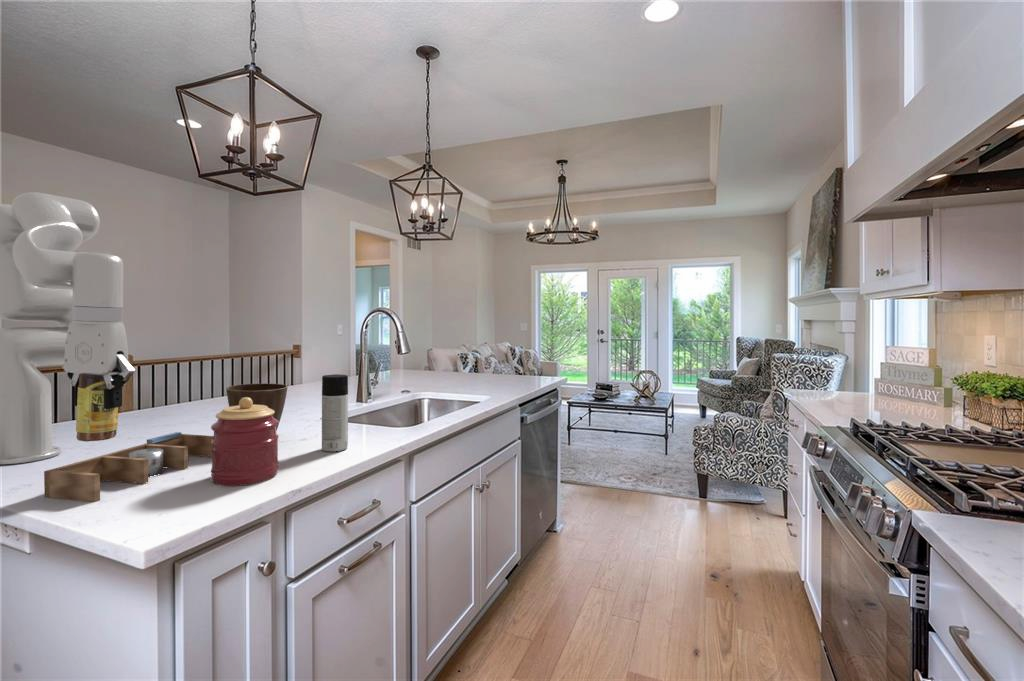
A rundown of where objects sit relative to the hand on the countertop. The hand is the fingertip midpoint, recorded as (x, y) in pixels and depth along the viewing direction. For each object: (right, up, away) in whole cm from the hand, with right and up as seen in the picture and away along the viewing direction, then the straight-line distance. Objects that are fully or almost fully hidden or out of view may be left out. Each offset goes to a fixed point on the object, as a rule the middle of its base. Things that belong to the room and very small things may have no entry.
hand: (98, 405), depth 94 cm
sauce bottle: (0, -7, 0) cm, 7 cm away
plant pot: (+12, -16, +37) cm, 42 cm away
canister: (+24, -17, +10) cm, 31 cm away
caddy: (+2, -17, +10) cm, 19 cm away
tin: (+2, -17, +10) cm, 20 cm away
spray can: (+35, -17, +33) cm, 51 cm away
